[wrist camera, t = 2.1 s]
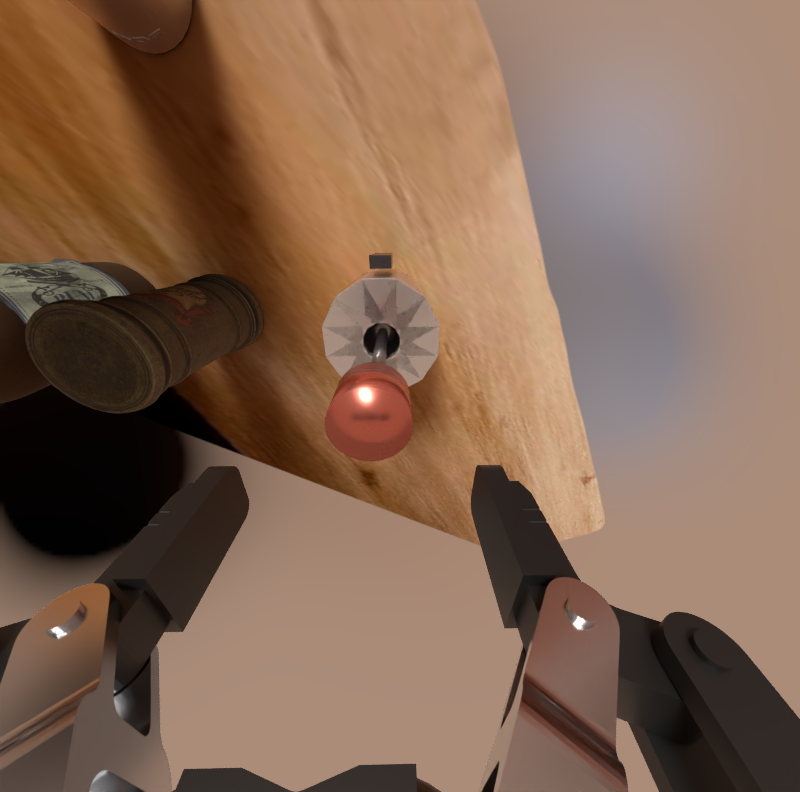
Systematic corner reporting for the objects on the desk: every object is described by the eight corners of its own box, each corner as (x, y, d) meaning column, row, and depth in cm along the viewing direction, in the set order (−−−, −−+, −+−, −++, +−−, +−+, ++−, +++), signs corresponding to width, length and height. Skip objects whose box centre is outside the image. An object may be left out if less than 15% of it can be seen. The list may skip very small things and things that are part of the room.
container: (275, 339, 37) (185, 408, 21) (211, 351, 38) (79, 427, 22) (245, 266, 33) (108, 283, 17) (175, 281, 34) (-21, 311, 18)
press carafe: (340, 252, 33) (311, 255, 21) (428, 253, 33) (446, 255, 22) (349, 350, 38) (329, 394, 27) (424, 350, 38) (436, 393, 27)
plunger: (343, 291, 26) (273, 351, 11) (420, 292, 26) (455, 351, 11) (349, 364, 30) (302, 485, 15) (418, 364, 30) (442, 484, 15)
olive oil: (154, 360, 39) (-172, 513, 16) (67, 307, 35) (-494, 408, 13) (186, 300, 35) (-174, 392, 13) (93, 234, 32) (-618, 202, 9)
